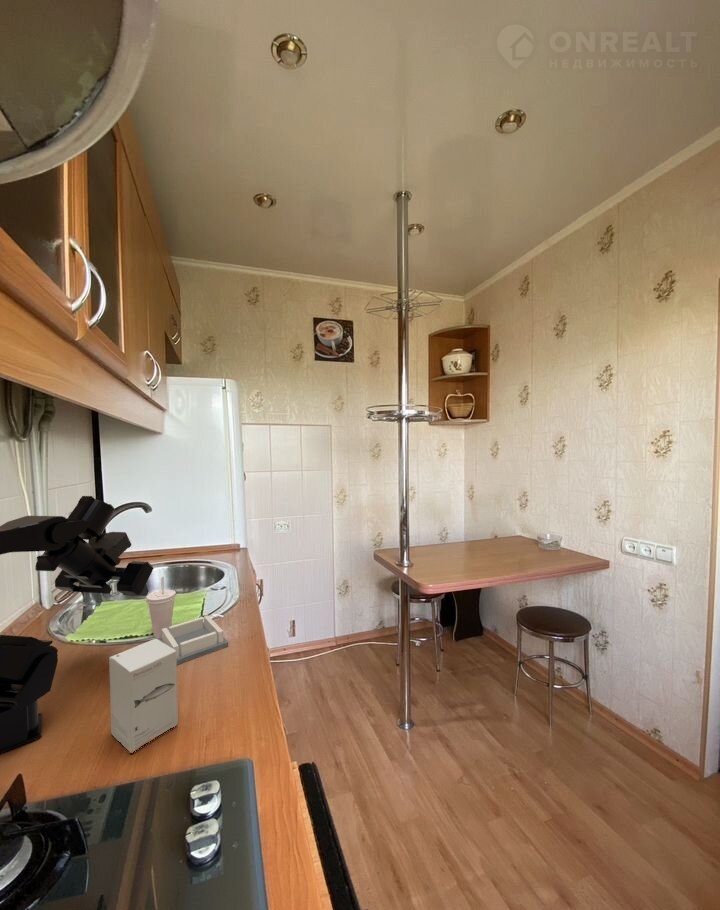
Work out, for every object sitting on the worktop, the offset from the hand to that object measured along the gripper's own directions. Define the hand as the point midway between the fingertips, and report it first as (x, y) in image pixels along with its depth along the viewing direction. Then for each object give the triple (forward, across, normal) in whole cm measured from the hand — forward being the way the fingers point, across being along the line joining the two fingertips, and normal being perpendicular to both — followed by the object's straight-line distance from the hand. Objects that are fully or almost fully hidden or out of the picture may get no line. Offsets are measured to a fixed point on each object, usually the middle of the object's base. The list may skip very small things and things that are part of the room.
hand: (128, 592), depth 82 cm
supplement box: (-4, -20, +23) cm, 31 cm away
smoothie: (+16, -1, +4) cm, 16 cm away
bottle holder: (+13, -12, +6) cm, 19 cm away
